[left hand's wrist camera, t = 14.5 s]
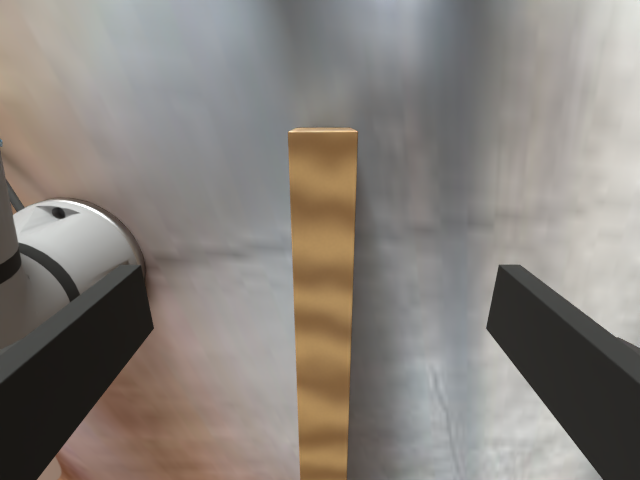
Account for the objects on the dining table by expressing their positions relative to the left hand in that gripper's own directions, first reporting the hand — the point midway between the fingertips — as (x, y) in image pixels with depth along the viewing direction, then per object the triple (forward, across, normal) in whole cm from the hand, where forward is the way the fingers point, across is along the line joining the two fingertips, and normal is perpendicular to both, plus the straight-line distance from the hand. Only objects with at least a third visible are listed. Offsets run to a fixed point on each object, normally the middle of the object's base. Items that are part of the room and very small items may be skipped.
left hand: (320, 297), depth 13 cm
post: (+26, 0, -32) cm, 41 cm away
